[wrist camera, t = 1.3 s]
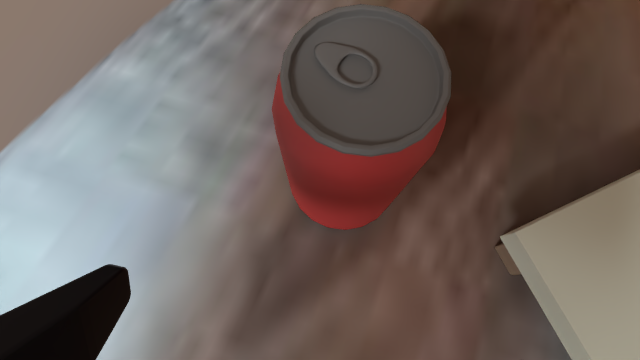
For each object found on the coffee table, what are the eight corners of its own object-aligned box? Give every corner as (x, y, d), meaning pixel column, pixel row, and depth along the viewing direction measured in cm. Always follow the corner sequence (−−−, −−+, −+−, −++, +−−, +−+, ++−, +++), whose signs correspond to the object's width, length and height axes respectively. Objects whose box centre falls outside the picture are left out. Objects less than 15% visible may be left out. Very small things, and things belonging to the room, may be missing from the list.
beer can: (328, 114, 24) (337, -40, 13) (412, 167, 23) (504, 50, 12) (269, 192, 23) (221, 96, 11) (357, 252, 22) (402, 213, 10)
